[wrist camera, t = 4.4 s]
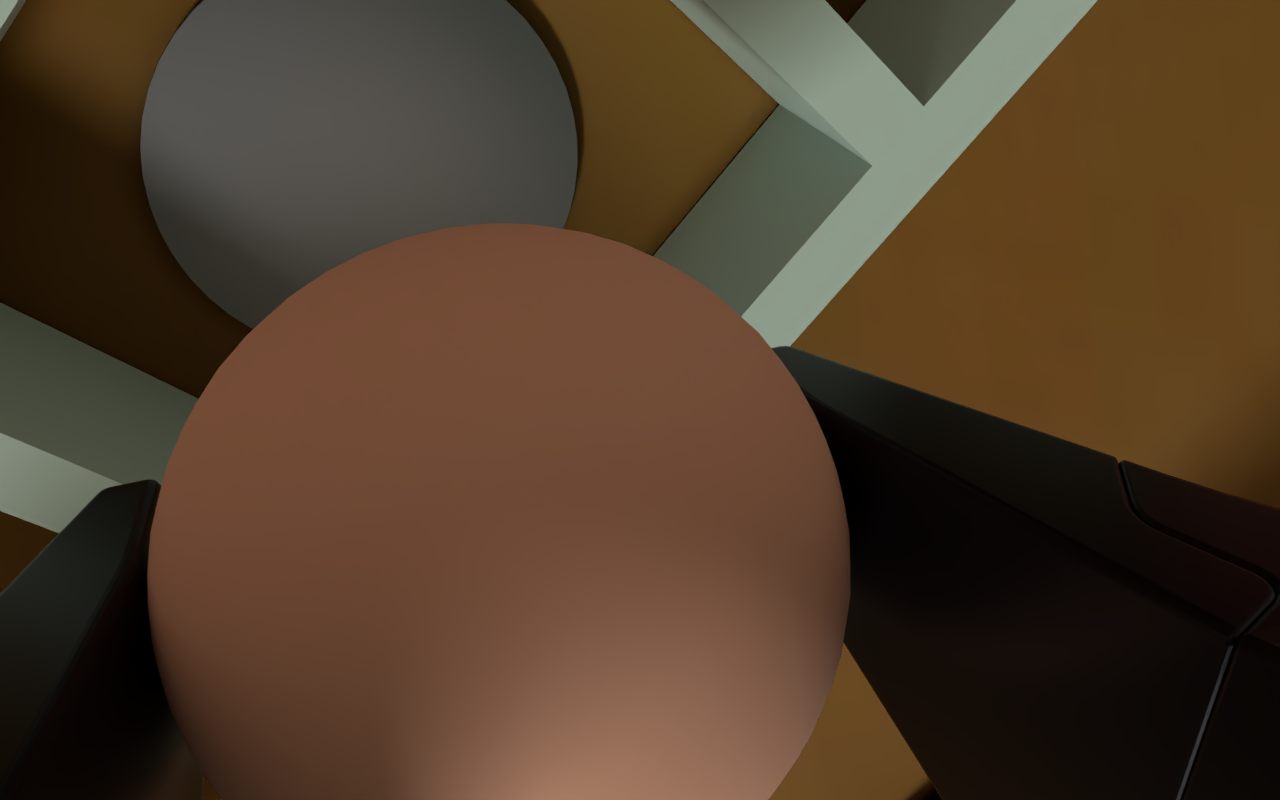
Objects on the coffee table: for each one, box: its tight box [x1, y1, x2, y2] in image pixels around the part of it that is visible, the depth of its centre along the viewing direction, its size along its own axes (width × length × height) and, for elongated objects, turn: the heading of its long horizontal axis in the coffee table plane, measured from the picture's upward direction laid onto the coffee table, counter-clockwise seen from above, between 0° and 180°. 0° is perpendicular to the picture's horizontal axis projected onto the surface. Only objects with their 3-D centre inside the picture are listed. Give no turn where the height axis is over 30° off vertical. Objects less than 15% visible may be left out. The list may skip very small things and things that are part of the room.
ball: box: [147, 223, 850, 800], centre depth 8 cm, size 5×5×5 cm
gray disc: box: [140, 0, 578, 329], centre depth 15 cm, size 6×6×1 cm
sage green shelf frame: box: [0, 0, 1097, 533], centre depth 14 cm, size 11×20×3 cm, turn 138°
